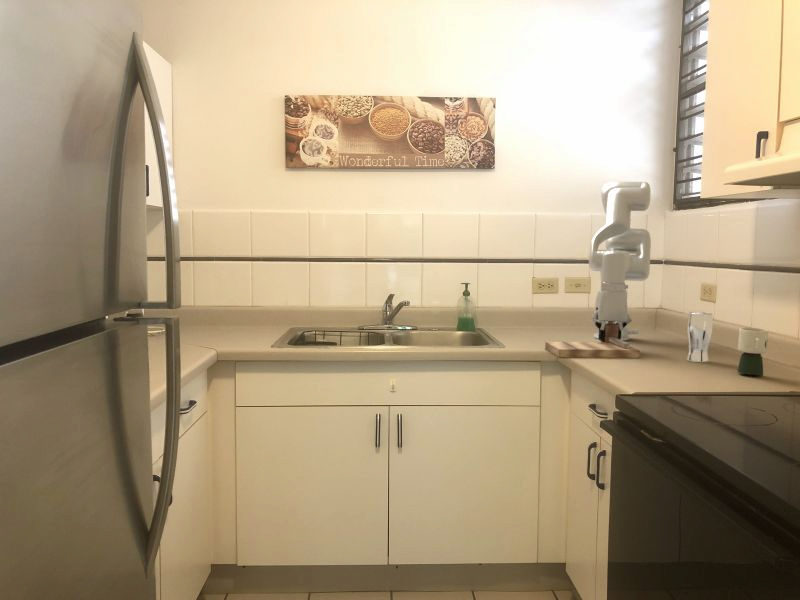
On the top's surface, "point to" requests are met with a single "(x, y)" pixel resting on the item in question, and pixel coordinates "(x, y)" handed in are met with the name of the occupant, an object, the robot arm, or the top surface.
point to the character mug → (752, 350)
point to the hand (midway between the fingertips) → (609, 340)
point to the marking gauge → (614, 335)
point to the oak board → (590, 350)
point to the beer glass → (699, 336)
